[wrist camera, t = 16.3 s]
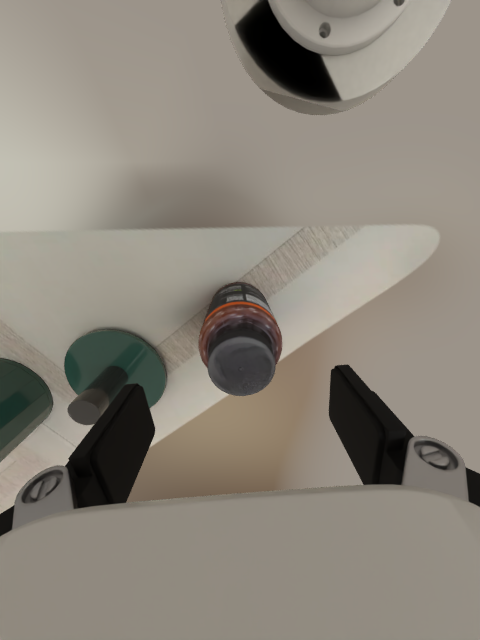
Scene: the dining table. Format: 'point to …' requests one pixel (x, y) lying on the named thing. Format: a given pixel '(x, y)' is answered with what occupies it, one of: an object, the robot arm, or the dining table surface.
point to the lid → (110, 371)
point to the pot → (20, 404)
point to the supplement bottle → (240, 340)
